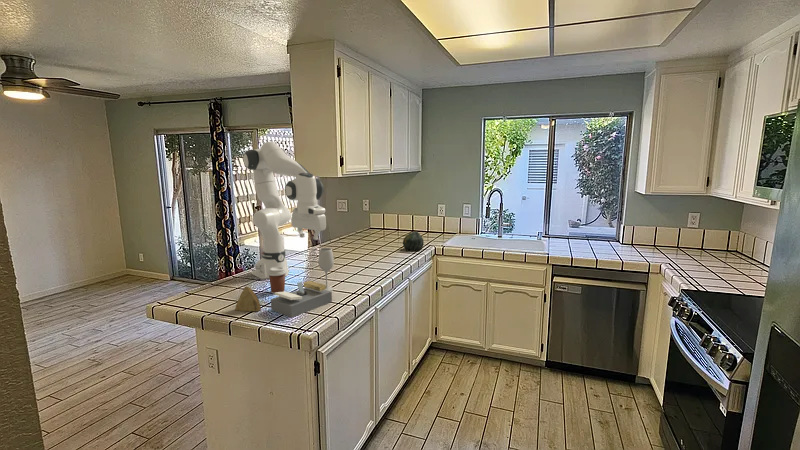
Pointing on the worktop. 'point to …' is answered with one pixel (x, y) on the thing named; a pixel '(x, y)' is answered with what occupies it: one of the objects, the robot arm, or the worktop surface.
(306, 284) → the gold rectangular block
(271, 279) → the coffee cup
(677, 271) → the worktop surface
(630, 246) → the worktop surface
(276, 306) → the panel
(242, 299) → the rock
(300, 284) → the paddle
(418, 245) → the squash
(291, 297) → the white slab
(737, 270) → the worktop surface
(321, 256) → the wineglass
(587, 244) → the worktop surface
